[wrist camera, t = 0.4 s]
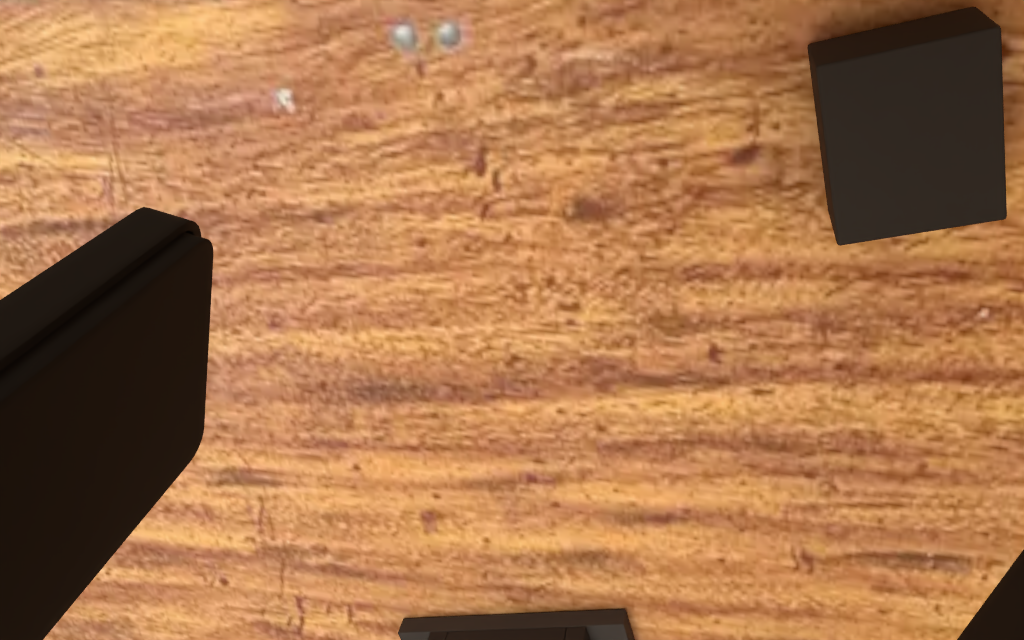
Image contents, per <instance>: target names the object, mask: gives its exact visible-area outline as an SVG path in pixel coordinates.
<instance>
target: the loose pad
mask: <svg viewBox="0 0 1024 640" xmlns="http://www.w3.org/2000/svg"><path fill="white" fill-rule="evenodd" d="M808 53H809V61H810V69H811V77H812V85H813V93H814V101H815V109H816V117H817V125H818V133H819V141H820V149H821V157H822V165H823V173H824V181H825V189H826V197H827V205H828V211H829V215H830V219H831V223H832V226H833V230H834V234H835V238H836V241H837V244H838V245H846V244H852V243H858V242H865V241H871V240H877V239H884V238H890V237H896V236H902V235H909V234H915V233H921V232H928V231H934V230H940V229H947V228H953V227H959V226H965V225H972V224H978V223H984V222H991V221H997V220H1003V219H1006V216H1007V210H1006V177H1005V144H1004V110H1003V77H1002V43H1001V28H1000V26H999V25H998V24H996V23H995V22H994V21H992V20H991V19H990V18H989V17H987V16H986V15H985V14H984V13H982V12H981V11H980V10H979V9H977V8H976V7H970V8H966V9H961V10H957V11H952V12H948V13H943V14H939V15H935V16H930V17H926V18H921V19H917V20H913V21H908V22H904V23H899V24H895V25H891V26H886V27H882V28H877V29H873V30H868V31H864V32H860V33H855V34H851V35H846V36H842V37H838V38H833V39H829V40H824V41H820V42H816V43H811V44H809V45H808Z"/></svg>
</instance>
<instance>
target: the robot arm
mask: <svg viewBox="0 0 1024 640" xmlns="http://www.w3.org/2000/svg"><path fill="white" fill-rule="evenodd" d="M212 269H213V246H212V243H211V242H210V241H209V240H208V239H205V238H202V237H201V232H200V229H199V226H198V225H197V224H196V223H195V222H194V221H190V220H187V219H184V218H181V217H177V216H174V215H171V214H167V213H164V212H161V211H157V210H154V209H151V208H146V207H143V208H140V209H138V210H136V211H134V212H133V213H131V214H130V215H128V216H127V217H125V218H124V219H122V220H121V221H119V222H118V223H116V224H115V225H113V226H112V227H110V228H109V229H107V230H106V231H104V232H103V233H101V234H100V235H98V236H97V237H95V238H93V239H92V240H90V241H89V242H87V243H86V244H84V245H83V246H81V247H80V248H78V249H77V250H75V251H74V252H72V253H71V254H69V255H68V256H66V257H65V258H63V259H62V260H60V261H59V262H57V263H56V264H54V265H53V266H51V267H50V268H48V269H47V270H45V271H44V272H42V273H41V274H39V275H38V276H36V277H35V278H33V279H32V280H30V281H29V282H27V283H25V284H24V285H22V286H21V287H19V288H18V289H16V290H15V291H13V292H12V293H10V294H9V295H7V296H6V297H4V298H3V299H1V300H0V640H43V639H44V638H45V636H46V635H47V634H48V633H49V632H50V630H51V629H52V628H53V627H54V626H55V624H56V623H57V622H58V621H59V620H60V618H61V617H62V616H63V615H64V613H65V612H66V611H67V610H68V609H69V607H70V606H71V605H72V604H73V603H74V601H75V600H76V599H77V598H78V597H79V595H80V594H81V593H82V592H83V591H84V589H85V588H86V587H87V586H88V585H89V583H90V582H91V581H92V580H93V578H94V577H95V576H96V575H97V574H98V572H99V571H100V570H101V569H102V568H103V566H104V565H105V564H106V563H107V562H108V560H109V559H110V558H111V557H112V556H113V554H114V553H115V552H116V551H117V549H118V548H119V547H120V546H121V545H122V543H123V542H124V541H125V540H126V539H127V537H128V536H129V535H130V534H131V533H132V531H133V530H134V529H135V528H136V527H137V525H138V524H139V523H140V522H141V520H142V519H143V518H144V517H145V516H146V514H147V513H148V512H149V511H150V510H151V508H152V507H153V506H154V505H155V504H156V502H157V501H158V500H159V499H160V498H161V496H162V495H163V494H164V493H165V491H166V490H167V489H168V488H169V487H170V485H171V484H172V483H173V482H174V481H175V479H176V478H177V477H178V476H179V475H180V473H181V472H182V471H183V470H184V469H185V467H186V466H187V465H188V464H189V463H190V461H191V460H192V458H193V457H194V456H195V454H196V452H197V450H198V448H199V445H200V443H201V440H202V436H203V431H204V419H205V400H206V381H207V363H208V344H209V325H210V306H211V288H212ZM957 640H1024V550H1023V551H1022V553H1021V554H1020V555H1019V557H1018V558H1017V559H1016V561H1015V562H1014V563H1013V565H1012V566H1011V567H1010V569H1009V570H1008V571H1007V573H1006V574H1005V576H1004V577H1003V578H1002V580H1001V581H1000V582H999V584H998V585H997V586H996V588H995V589H994V590H993V592H992V593H991V594H990V596H989V597H988V599H987V600H986V601H985V603H984V604H983V605H982V607H981V608H980V609H979V611H978V612H977V613H976V615H975V616H974V617H973V619H972V620H971V622H970V623H969V624H968V626H967V627H966V628H965V630H964V631H963V632H962V634H961V635H960V636H959V638H958V639H957Z"/></svg>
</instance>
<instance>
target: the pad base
mask: <svg viewBox="0 0 1024 640" xmlns="http://www.w3.org/2000/svg"><path fill="white" fill-rule="evenodd" d="M398 634H399V636H400V638H401V640H634V636H633V633H632V630H631V626H630V623H629V620H628V616H627V613H626V610H625V609H615V610H592V611H568V612H545V613H522V614H499V615H476V616H453V617H430V618H406V619H403V622H402V624H401V627H400V629H399V632H398Z"/></svg>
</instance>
